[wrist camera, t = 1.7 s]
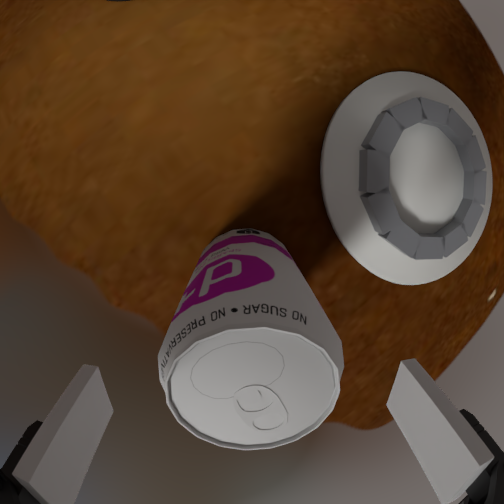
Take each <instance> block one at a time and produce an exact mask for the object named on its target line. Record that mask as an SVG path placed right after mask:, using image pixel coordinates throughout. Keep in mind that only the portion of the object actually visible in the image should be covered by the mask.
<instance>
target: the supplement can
mask: <svg viewBox="0 0 504 504" xmlns="http://www.w3.org/2000/svg"><path fill="white" fill-rule="evenodd" d="M158 364H159V376H160V382H161V384H162V386H163V389H164V391H165V393H166V402H167V405H168V406H169V408H170V410H171V411H172V413H173V415H174V416H175V418H176V420H177V421H178V422H179V423H180V424H181V425H182V426H183V427H185V428H186V429H187V430H188V431H190V432H191V433H192V434H194V435H195V436H196V437H198V438H201V439H203V440H205V441H207V442H210V443H212V444H215V445H217V446H220V447H226V448H233V449H240V450H257V449H269V448H274V447H277V446H281V445H284V444H287V443H290V442H293V441H296V440H298V439H299V438H301V437H303V436H305V435H306V434H308V433H309V432H311V431H313V430H314V429H316V428H317V427H318V426H319V425H320V424H321V423H322V422H323V421H324V420H325V419H326V418H327V416H328V415H329V414H330V413H331V412H332V411H333V408H334V406H335V403H336V400H337V398H338V395H339V392H340V383H339V382H340V378H341V375H342V372H343V368H344V361H343V351H342V342H341V340H340V338H339V337H338V335H337V333H336V331H335V330H334V328H333V326H332V324H331V323H330V321H329V319H328V317H327V316H326V314H325V312H324V311H323V309H322V307H321V305H320V304H319V302H318V300H317V299H316V297H315V295H314V294H313V292H312V290H311V288H310V287H309V285H308V283H307V282H306V280H305V278H304V277H303V275H302V273H301V272H300V270H299V268H298V267H297V265H296V263H295V262H294V260H293V258H292V257H291V255H290V254H289V252H288V251H287V249H286V248H285V246H284V245H283V243H281V242H280V241H279V240H277V239H276V238H274V237H273V236H272V235H270V234H269V233H266V232H262V231H259V230H255V229H251V228H250V229H237V230H231V231H229V232H227V233H225V234H222V235H220V236H218V237H216V238H215V239H214V240H213V241H212V242H211V243H210V244H209V245H208V246H207V247H206V248H205V249H204V250H203V253H202V255H201V257H200V259H199V261H198V263H197V266H196V268H195V270H194V272H193V274H192V277H191V279H190V281H189V283H188V286H187V288H186V290H185V292H184V294H183V297H182V299H181V301H180V304H179V306H178V308H177V310H176V313H175V315H174V317H173V320H172V322H171V324H170V327H169V329H168V331H167V334H166V336H165V339H164V341H163V344H162V347H161V349H160V351H159V354H158Z"/></svg>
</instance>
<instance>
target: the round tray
mask: <svg viewBox="0 0 504 504" xmlns="http://www.w3.org/2000/svg"><path fill="white" fill-rule="evenodd" d="M320 183H321V190H322V196H323V201H324V205H325V208H326V212H327V215H328V218H329V220H330V222H331V225H332V227H333V229H334V231H335V233H336V235H337V237H338V238H339V240H340V242H341V243H342V244H343V246H344V247H345V248H346V250H347V251H348V252H349V253H350V254H351V255H352V256H353V257H354V258H355V260H356V261H357V262H359V263H360V264H361V265H362V266H364V267H365V268H366V269H368V270H369V271H370V272H372V273H373V274H375V275H377V276H378V277H380V278H382V279H384V280H387V281H390V282H393V283H397V284H403V285H418V284H425V283H428V282H432V281H435V280H437V279H439V278H441V277H443V276H445V275H447V274H448V273H450V272H451V271H453V270H454V269H455V268H456V267H457V266H459V265H460V264H461V263H462V262H463V261H464V260H465V259H466V257H467V256H468V255H469V254H470V252H471V251H472V250H473V248H474V247H475V245H476V243H477V242H478V240H479V238H480V236H481V234H482V232H483V229H484V227H485V224H486V221H487V218H488V214H489V210H490V205H491V197H492V169H491V162H490V157H489V152H488V149H487V145H486V142H485V139H484V137H483V134H482V132H481V129H480V128H479V126H478V124H477V122H476V120H475V118H474V117H473V115H472V114H471V112H470V111H469V109H468V108H467V107H466V105H465V104H464V103H463V102H462V101H461V100H460V99H459V98H458V97H457V96H456V95H455V94H454V93H453V92H452V91H451V90H449V89H448V88H447V87H445V86H444V85H443V84H441V83H439V82H437V81H436V80H434V79H432V78H429V77H427V76H424V75H421V74H417V73H413V72H403V71H398V72H388V73H385V74H381V75H378V76H375V77H373V78H371V79H369V80H367V81H366V82H364V83H363V84H361V85H360V86H358V87H357V88H356V89H354V90H353V91H352V92H351V93H350V94H349V95H348V96H347V97H346V98H345V99H344V100H343V101H342V102H341V104H340V105H339V106H338V108H337V109H336V111H335V113H334V114H333V116H332V118H331V120H330V122H329V125H328V128H327V131H326V133H325V136H324V141H323V145H322V150H321V160H320Z"/></svg>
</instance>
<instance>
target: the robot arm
mask: <svg viewBox="0 0 504 504" xmlns="http://www.w3.org/2000/svg"><path fill="white" fill-rule="evenodd" d="M108 1H129V0H108ZM386 405H387V407H388V409H389V411H390V412H391V414H392V416H393V417H394V419H395V421H396V422H397V424H398V426H399V428H400V429H401V431H402V433H403V435H404V436H405V438H406V440H407V442H408V443H409V445H410V447H411V449H412V451H413V452H414V454H415V456H416V458H417V459H418V461H419V463H420V465H421V467H422V468H423V470H424V472H425V474H426V476H427V478H428V479H429V481H430V483H431V485H432V487H433V489H434V491H435V493H436V494H437V496H438V498H439V500H440V502H441V504H448V503H450V502H452V501H454V500H456V499H458V498H459V497H460V496H461V495H462V494H463V493H464V492H465V491H466V492H467V494H468V495H467V496H466V497H465V498H464V499H463V500H462V501H461V502H460V503H459V504H504V452H503V451H502V450H501V449H500V448H499V446H498V445H497V444H496V442H495V441H494V440H493V439H492V437H491V436H490V435H489V434H488V432H487V431H486V430H484V427H483V426H482V425H481V424H479V421H478V420H477V419H476V418H475V416H474V415H473V414H471V413H469V412H468V411H466V410H465V409H462V410H460V411H459V410H458V409H457V408H456V407H455V406H454V405H453V403H452V402H451V401H450V399H449V398H448V397H447V396H446V395H445V393H444V392H443V391H442V390H441V389H440V387H439V386H438V385H437V384H436V383H435V381H434V380H433V379H432V378H431V377H430V376H429V374H428V373H427V372H426V371H425V370H424V369H423V367H422V366H421V365H420V364H419V363H418V362H417V361H416V359H415V358H413V359H408V360H403V361H401V363H400V366H399V369H398V372H397V376H396V379H395V382H394V385H393V388H392V391H391V393H390V396H389V399H388V402H387V404H386ZM112 413H113V408H112V406H111V403H110V400H109V398H108V395H107V392H106V389H105V386H104V384H103V380H102V377H101V374H100V371H99V368H98V366H92V365H85V364H84V365H83V366H82V367H81V369H80V370H79V371H78V373H77V374H76V375H75V377H74V378H73V380H72V381H71V383H70V384H69V385H68V387H67V388H66V390H65V391H64V392H63V394H62V395H61V397H60V398H59V400H58V401H57V403H56V404H55V406H54V407H53V409H52V410H51V412H50V413H49V415H48V416H47V418H46V419H45V421H44V422H40V421H36V422H34V423H33V424H32V425H31V426H29V427H28V428H27V430H26V431H25V433H24V434H23V437H22V438H21V439H20V440H19V442H18V445H16V446H15V448H14V449H13V451H12V453H11V454H10V456H9V457H8V459H7V461H6V462H5V464H4V465H3V467H2V468H1V469H0V504H74V503H75V500H76V497H77V495H78V492H79V490H80V487H81V485H82V482H83V480H84V477H85V475H86V473H87V470H88V468H89V465H90V463H91V461H92V458H93V456H94V454H95V451H96V449H97V447H98V444H99V442H100V440H101V438H102V435H103V433H104V431H105V429H106V427H107V424H108V422H109V420H110V418H111V416H112Z"/></svg>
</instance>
